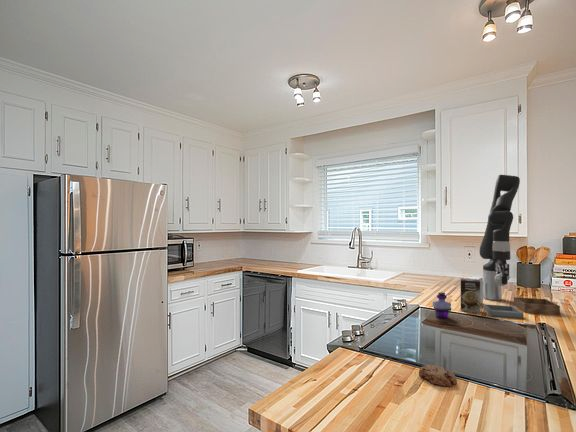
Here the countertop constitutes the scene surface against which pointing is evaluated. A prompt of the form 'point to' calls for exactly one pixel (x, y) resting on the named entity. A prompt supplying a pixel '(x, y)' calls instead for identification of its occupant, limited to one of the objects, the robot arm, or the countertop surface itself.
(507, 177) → the robot arm
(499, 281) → the frog figurine
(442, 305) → the potion bottle
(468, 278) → the skincare box
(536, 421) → the countertop surface
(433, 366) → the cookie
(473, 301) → the coffee box
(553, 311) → the walnut frame
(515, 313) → the charcoal tray
